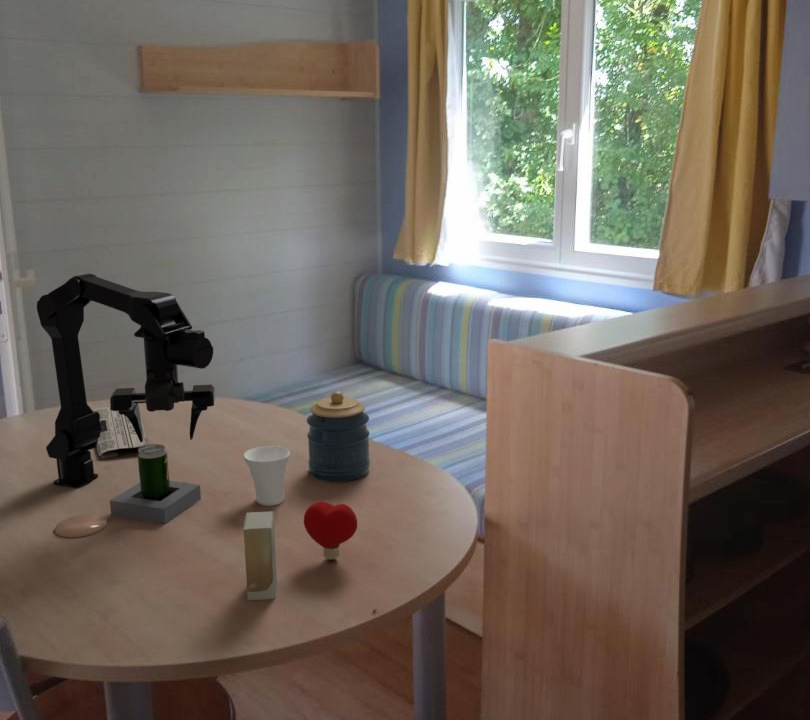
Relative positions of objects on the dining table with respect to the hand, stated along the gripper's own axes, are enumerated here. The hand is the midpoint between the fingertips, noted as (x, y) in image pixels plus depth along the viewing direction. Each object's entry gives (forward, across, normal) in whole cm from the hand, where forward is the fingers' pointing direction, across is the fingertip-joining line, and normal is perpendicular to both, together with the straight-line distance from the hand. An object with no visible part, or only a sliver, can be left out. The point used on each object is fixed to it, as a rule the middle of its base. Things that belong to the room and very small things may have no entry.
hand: (166, 440), depth 170 cm
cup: (+13, +19, -2) cm, 23 cm away
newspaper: (+14, -16, +45) cm, 49 cm away
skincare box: (+12, +17, -38) cm, 44 cm away
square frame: (+13, -2, -2) cm, 13 cm away
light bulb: (+12, +29, -30) cm, 43 cm away
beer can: (+13, -2, -2) cm, 13 cm away
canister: (+13, +34, +10) cm, 38 cm away
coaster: (+13, -15, -8) cm, 22 cm away
